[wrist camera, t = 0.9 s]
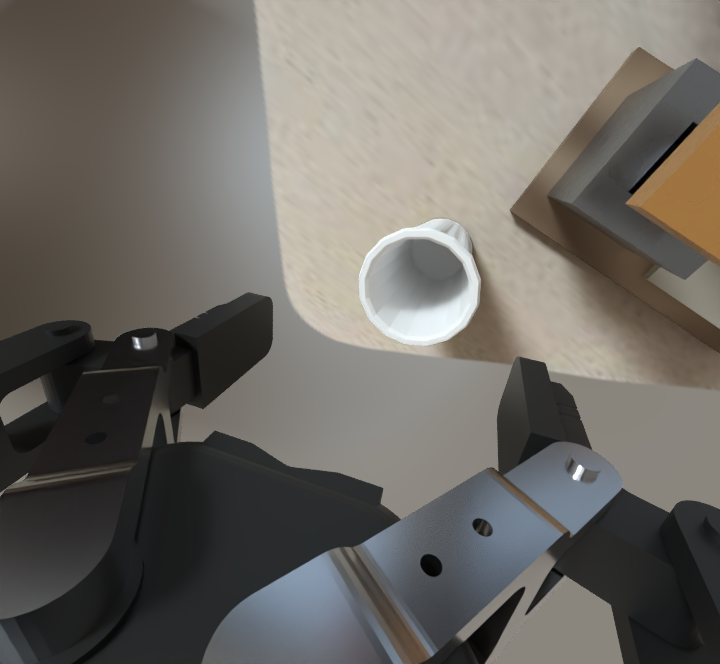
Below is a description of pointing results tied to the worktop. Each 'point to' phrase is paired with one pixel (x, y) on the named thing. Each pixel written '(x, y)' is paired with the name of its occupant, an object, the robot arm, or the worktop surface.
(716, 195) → the plunger
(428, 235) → the cup
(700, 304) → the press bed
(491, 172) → the worktop surface
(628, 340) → the worktop surface
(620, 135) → the open box
